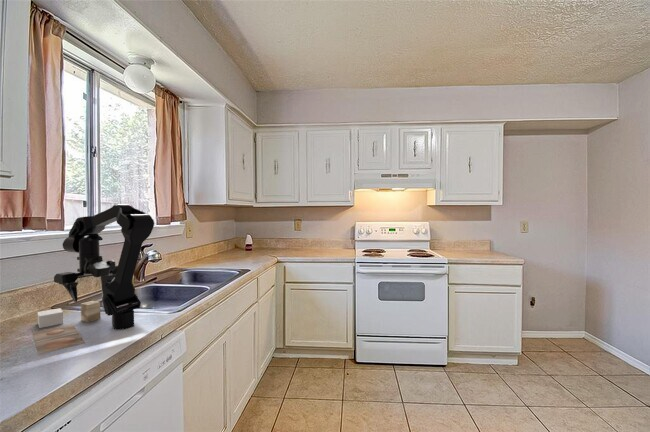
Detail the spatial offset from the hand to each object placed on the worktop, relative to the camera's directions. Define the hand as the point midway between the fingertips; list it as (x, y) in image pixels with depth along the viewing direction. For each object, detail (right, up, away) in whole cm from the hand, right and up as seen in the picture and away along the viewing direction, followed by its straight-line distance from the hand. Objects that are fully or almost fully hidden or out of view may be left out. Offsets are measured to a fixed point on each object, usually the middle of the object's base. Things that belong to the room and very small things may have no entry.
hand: (90, 298), depth 111 cm
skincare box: (-6, -8, +19) cm, 21 cm away
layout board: (+1, -9, -15) cm, 18 cm away
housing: (-11, -9, -4) cm, 14 cm away
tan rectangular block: (0, -9, 0) cm, 9 cm away
